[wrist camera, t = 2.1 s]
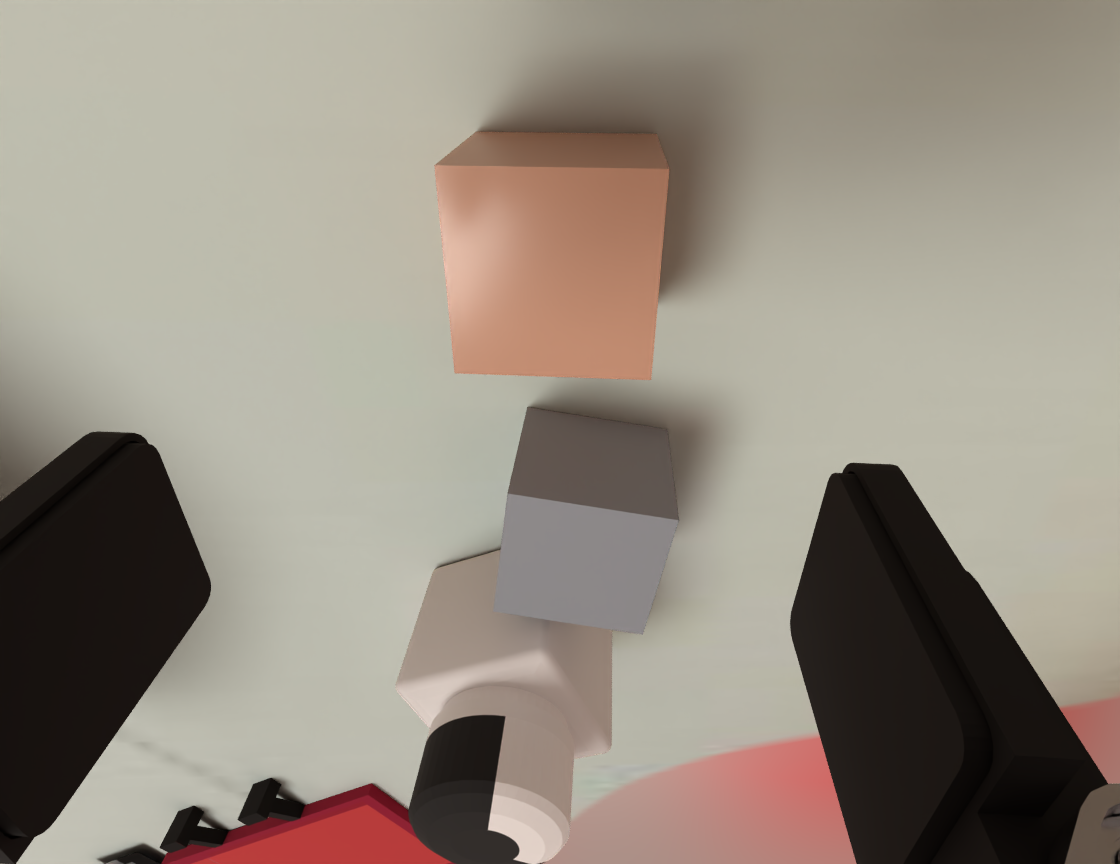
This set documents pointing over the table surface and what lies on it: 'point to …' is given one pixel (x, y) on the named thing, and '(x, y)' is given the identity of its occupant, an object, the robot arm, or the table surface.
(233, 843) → the red board with handle
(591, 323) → the terracotta cube
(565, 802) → the medicine bottle
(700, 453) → the table surface
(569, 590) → the slate cube
